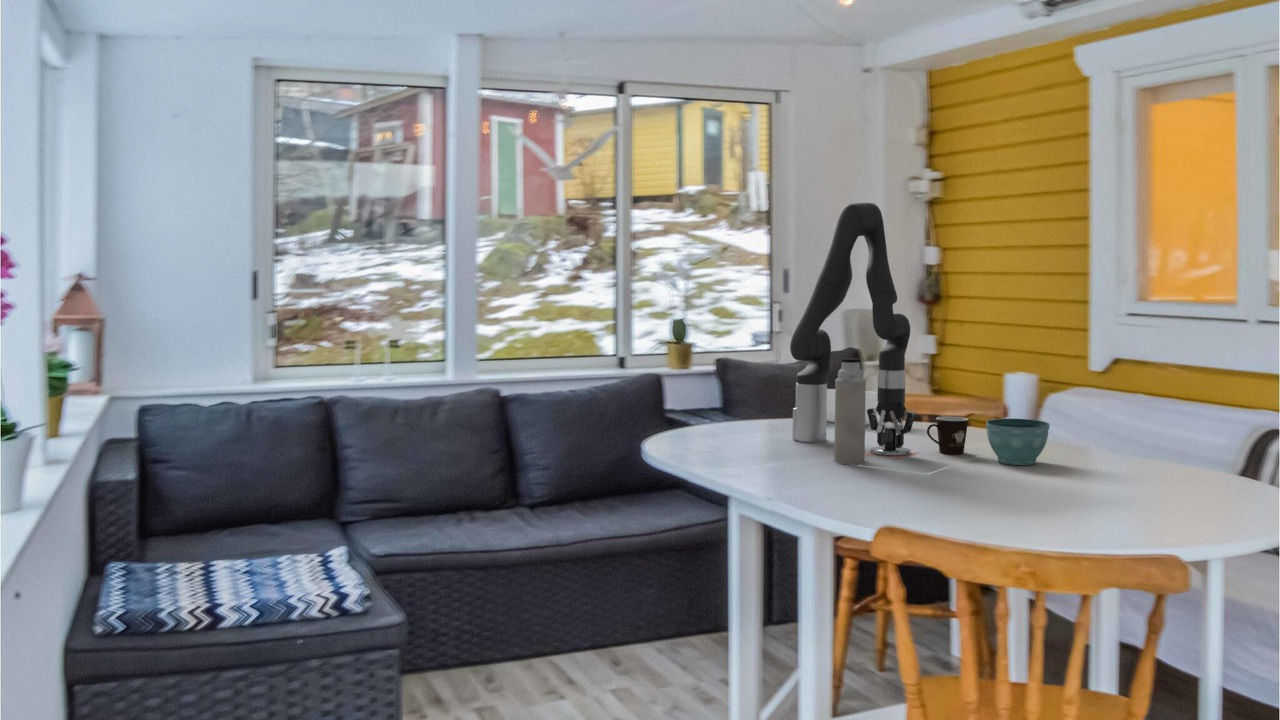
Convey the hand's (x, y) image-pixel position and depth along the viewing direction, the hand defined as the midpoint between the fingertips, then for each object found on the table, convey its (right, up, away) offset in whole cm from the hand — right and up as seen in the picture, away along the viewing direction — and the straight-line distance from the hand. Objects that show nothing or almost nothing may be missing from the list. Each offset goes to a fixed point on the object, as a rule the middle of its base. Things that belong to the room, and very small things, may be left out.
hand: (890, 446), depth 320 cm
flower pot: (+31, -4, -13) cm, 34 cm away
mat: (0, -2, 0) cm, 2 cm away
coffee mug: (+16, -2, +1) cm, 16 cm away
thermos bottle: (-13, -4, -11) cm, 18 cm away
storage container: (0, +2, +55) cm, 55 cm away
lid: (0, -2, 0) cm, 2 cm away
